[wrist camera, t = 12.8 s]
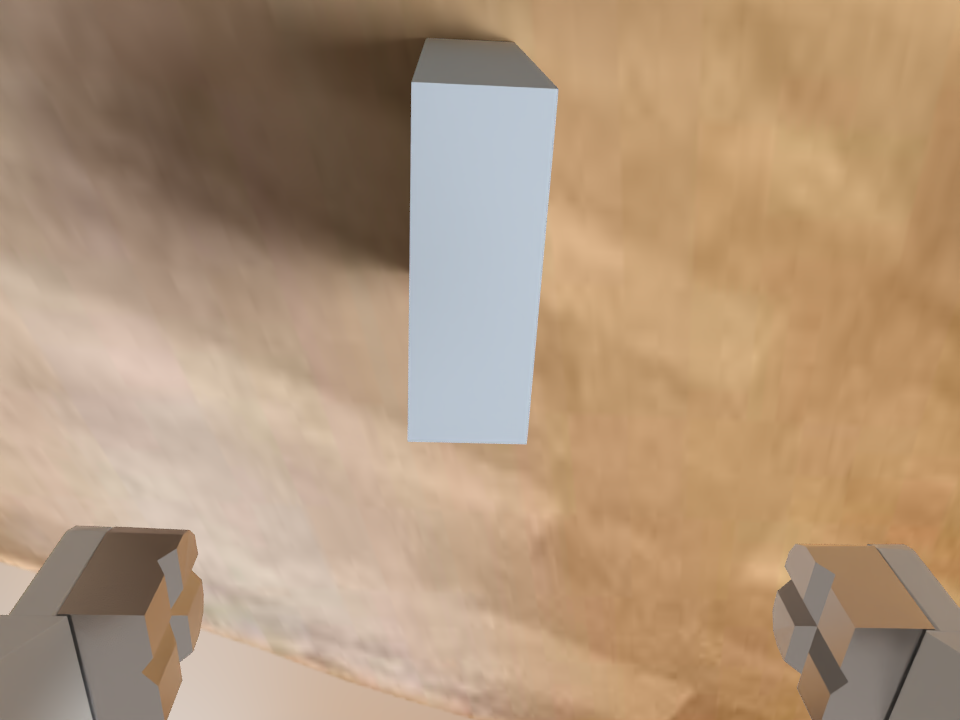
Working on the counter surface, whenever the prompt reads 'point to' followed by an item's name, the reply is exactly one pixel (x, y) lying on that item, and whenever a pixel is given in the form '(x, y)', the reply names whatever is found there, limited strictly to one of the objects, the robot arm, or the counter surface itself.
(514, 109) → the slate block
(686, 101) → the counter surface
